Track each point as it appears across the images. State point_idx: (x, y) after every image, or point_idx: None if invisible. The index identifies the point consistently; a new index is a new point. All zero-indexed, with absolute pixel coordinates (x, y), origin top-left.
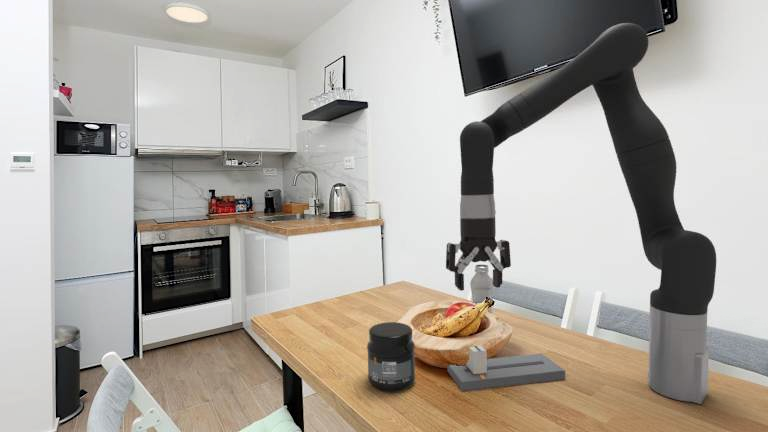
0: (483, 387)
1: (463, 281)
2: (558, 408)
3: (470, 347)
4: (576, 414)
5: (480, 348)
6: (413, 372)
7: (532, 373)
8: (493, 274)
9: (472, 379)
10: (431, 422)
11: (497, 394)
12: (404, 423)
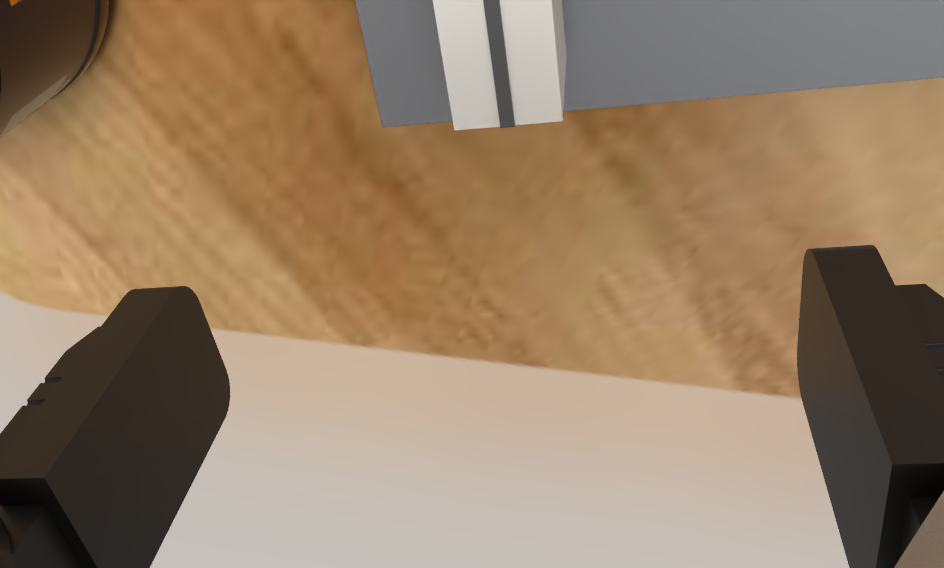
0: None
1: (174, 506)
2: None
3: (449, 48)
4: None
5: (525, 79)
6: (76, 46)
7: (883, 76)
8: (856, 409)
9: None
10: (226, 314)
11: (582, 155)
12: None
